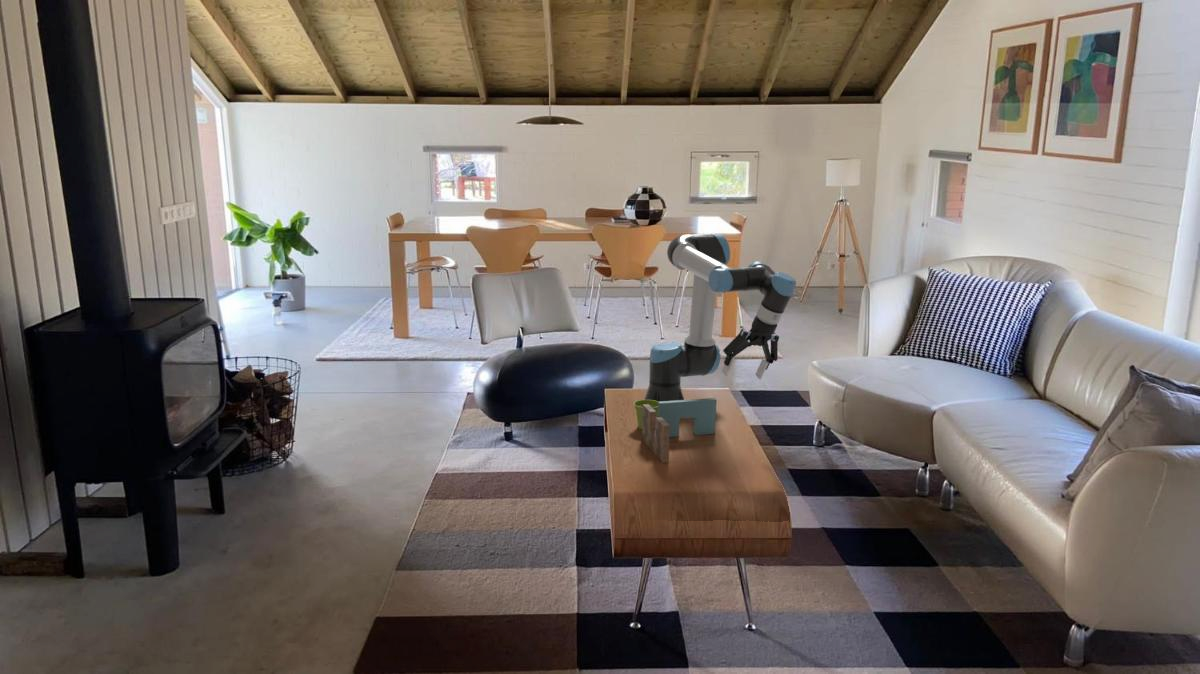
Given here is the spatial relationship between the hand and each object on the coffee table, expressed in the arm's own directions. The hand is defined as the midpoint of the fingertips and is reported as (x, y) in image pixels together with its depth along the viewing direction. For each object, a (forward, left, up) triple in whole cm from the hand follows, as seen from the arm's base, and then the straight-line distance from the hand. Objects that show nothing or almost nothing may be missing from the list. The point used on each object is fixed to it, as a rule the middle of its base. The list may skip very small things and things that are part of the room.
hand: (741, 375), depth 276 cm
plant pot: (-19, -26, -23) cm, 39 cm away
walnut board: (+3, -30, -22) cm, 38 cm away
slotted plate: (-9, -15, -22) cm, 28 cm away
